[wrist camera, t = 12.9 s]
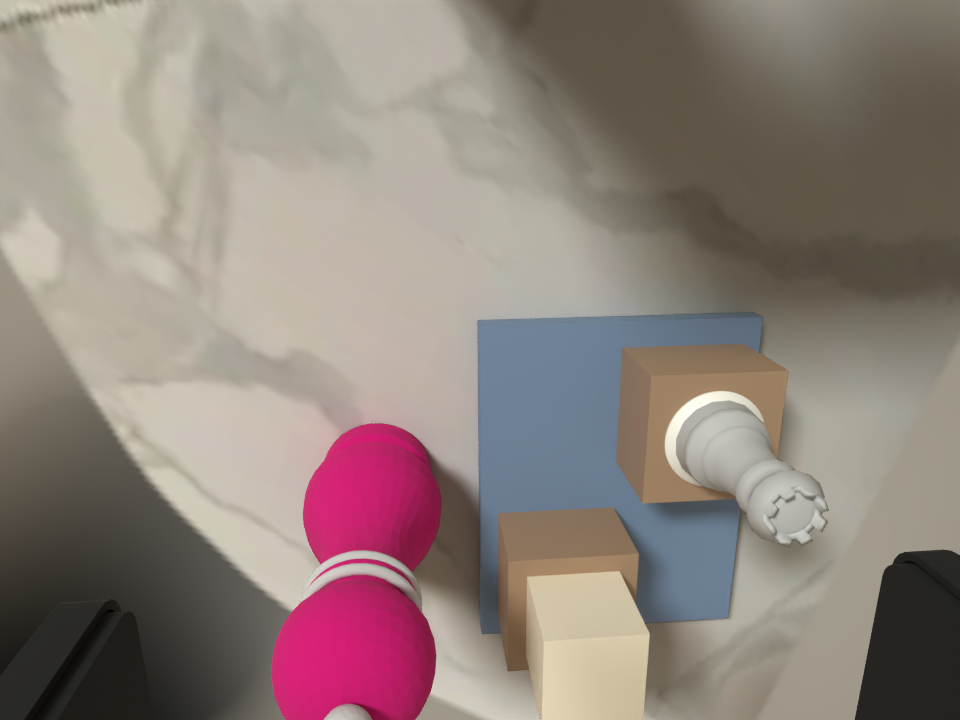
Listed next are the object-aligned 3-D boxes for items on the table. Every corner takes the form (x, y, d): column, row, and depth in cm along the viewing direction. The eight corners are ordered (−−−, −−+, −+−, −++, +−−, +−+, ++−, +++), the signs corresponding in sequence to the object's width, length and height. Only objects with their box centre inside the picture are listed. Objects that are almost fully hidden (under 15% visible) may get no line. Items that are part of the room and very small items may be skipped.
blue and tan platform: (477, 320, 38) (501, 386, 28) (753, 312, 40) (876, 372, 29) (480, 621, 44) (500, 771, 34) (719, 606, 46) (812, 745, 35)
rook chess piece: (774, 421, 35) (875, 497, 27) (724, 492, 36) (806, 584, 28) (705, 381, 34) (789, 448, 26) (654, 455, 35) (721, 540, 27)
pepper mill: (444, 518, 42) (468, 826, 23) (324, 531, 42) (248, 857, 22) (432, 407, 40) (448, 647, 21) (306, 421, 39) (204, 678, 20)
